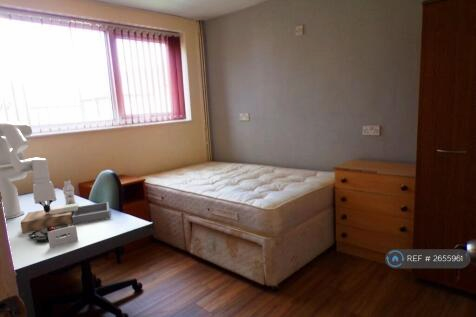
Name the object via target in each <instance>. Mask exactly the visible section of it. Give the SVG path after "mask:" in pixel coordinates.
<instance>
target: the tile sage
mask: <svg viewBox="0 0 476 317" xmlns="http://www.w3.org/2000/svg"><path fill="white" fill-rule="evenodd" d="M75 203H76V202H75ZM64 205H65V206H64V212H68V211H75V210H78V208H79V205H80V204H79V203H78V202H77V203H76V204H69V205H66V204H64Z"/></svg>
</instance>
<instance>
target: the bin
mask: <svg viewBox="0 0 476 317" xmlns="http://www.w3.org/2000/svg"><path fill="white" fill-rule="evenodd" d="M110 215H111V214H110V204H109V201H105V202H99V203H93V204H87V205H81V206H79V208H78V210H75V211H74V213H73V216H72V220H73V224H72V226H74V225H75V226H76V225H79V224H86V223H91V222H97V221H103V220H102V219H104V220H107V219H106V218H109V219H110V218H111V216H110Z"/></svg>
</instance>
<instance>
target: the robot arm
mask: <svg viewBox="0 0 476 317" xmlns="http://www.w3.org/2000/svg"><path fill="white" fill-rule="evenodd" d="M32 134H33V129H32V127H31V125H30V124H28V123H27V122H23V121H18V120H16V121H15V120H12V121H0V166H1V167H0V192H1V196H2V202H3V207H4V213H5V218H6V219H5V220H7V219H14V218H19V217H21V216H23V215H24V214H25V211H23V210H21V203H20V199H19V198H20V197H19V194H18V188H17V185H15V184H14V183H13V182H14V181H18V180H19V181H20V180H23V179H25V178H26V177H27V175H28V173H31V172H32V174H33V175H32V176H33V179H30V180H31V183H34V184H33V186H32V191H33V192H32V194H33V200H34V204H36V205H38V204H39V205H41V206H42V207H43V210H44V211H45V213H47V212H48V213H49V211H50V209H51V203H53V202H56V201H57V200H58V199H57V196H56V191H55V188H54V183H53V182H52V181H51V177H50V171H49V166H48V160H47V159H46V158H41V157H32V158H25V153H24V152H23V151H25V150H26V149H28V147H29V145H30V143H29V141H28V139H27V138H26V137H30V136H31V135H32ZM9 145H10V146H11V148H10V146H9ZM5 165H8V166H5ZM2 166H3V167H2Z"/></svg>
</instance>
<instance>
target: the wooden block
mask: <svg viewBox="0 0 476 317" xmlns="http://www.w3.org/2000/svg"><path fill="white" fill-rule="evenodd" d="M73 213H74V211H68V212H63V213H57V214H51V215H50V211H49V213H48V212H47V213H45V211H44V209H43V210H35V211H30V212H28V213H27V214H26V215H25V216H24V218H23V219H22V220H21V221H20V228H21V233H22V234H27V233H32V231H33V232H34V231H38V230H41V229H45V228H47V227H51V226H55V225H58V224H67V225H69V226H71V225H72V226H73V220H72V216H73ZM26 232H27V233H26Z"/></svg>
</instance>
